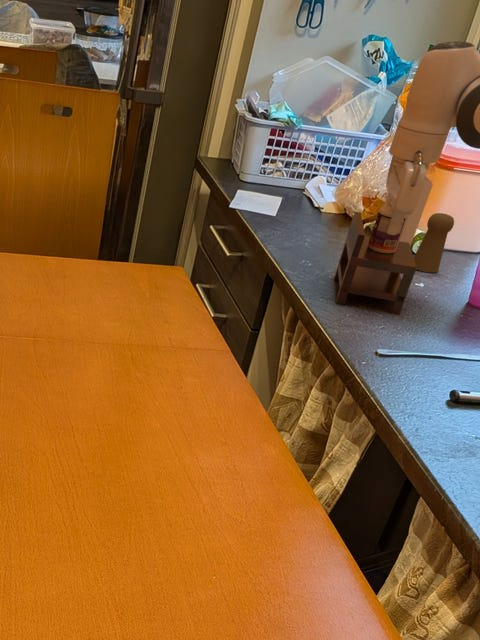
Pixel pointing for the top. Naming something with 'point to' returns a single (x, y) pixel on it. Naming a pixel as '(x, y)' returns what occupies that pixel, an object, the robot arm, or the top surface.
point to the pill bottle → (385, 231)
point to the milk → (415, 213)
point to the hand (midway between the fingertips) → (389, 226)
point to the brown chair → (373, 269)
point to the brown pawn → (433, 243)
